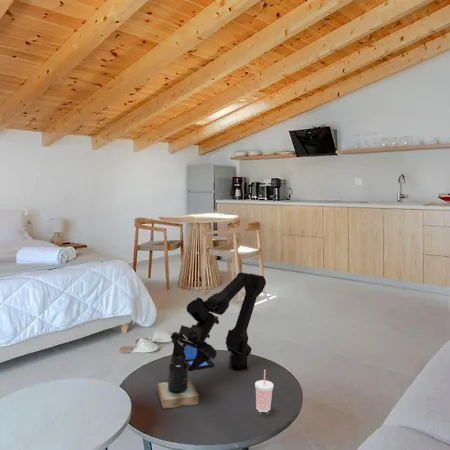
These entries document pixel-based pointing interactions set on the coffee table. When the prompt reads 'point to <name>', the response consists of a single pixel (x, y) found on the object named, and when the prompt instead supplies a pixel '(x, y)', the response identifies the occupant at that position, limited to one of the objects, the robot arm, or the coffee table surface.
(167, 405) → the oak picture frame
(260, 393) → the beverage cup
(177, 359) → the supplement bottle
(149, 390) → the coffee table surface
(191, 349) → the handheld game console
